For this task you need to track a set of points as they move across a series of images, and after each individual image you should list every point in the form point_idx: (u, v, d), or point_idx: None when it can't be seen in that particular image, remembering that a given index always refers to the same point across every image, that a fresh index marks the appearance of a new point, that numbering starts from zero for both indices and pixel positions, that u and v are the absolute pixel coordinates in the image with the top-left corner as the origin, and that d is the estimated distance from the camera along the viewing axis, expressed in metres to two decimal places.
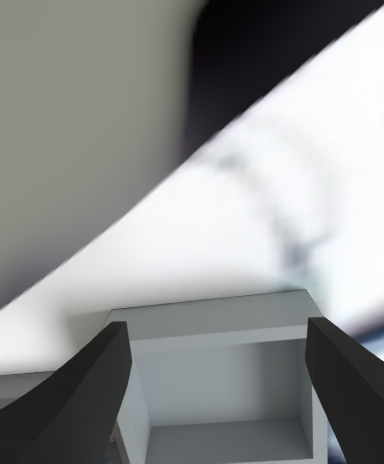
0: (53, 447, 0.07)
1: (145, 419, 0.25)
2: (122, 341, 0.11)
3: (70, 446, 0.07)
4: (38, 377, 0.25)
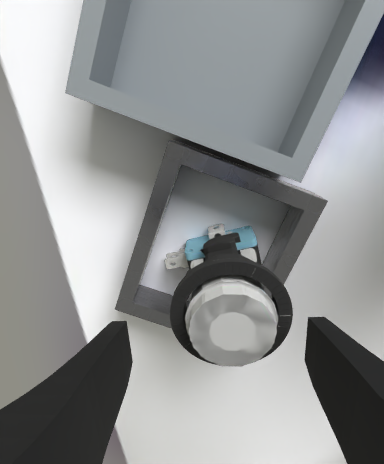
0: (53, 447, 0.07)
1: None
2: (121, 341, 0.11)
3: (70, 446, 0.07)
4: None
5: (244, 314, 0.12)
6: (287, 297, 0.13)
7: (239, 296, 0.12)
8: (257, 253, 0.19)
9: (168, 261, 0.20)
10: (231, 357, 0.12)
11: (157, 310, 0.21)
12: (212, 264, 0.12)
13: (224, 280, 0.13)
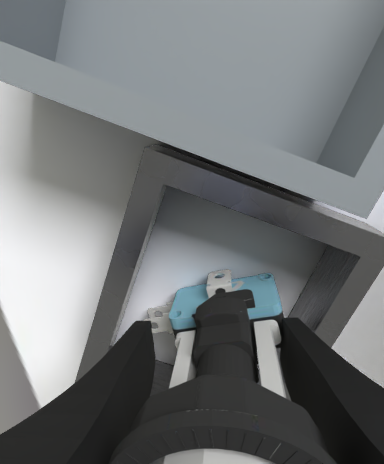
0: (96, 447, 0.06)
1: None
2: (147, 341, 0.11)
3: (109, 446, 0.07)
4: None
5: None
6: None
7: None
8: None
9: None
10: None
11: None
12: (182, 426, 0.06)
13: (210, 454, 0.06)
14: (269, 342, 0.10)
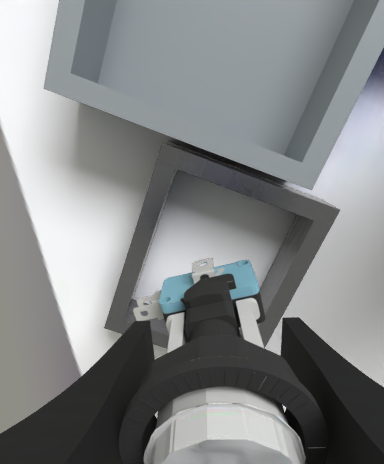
0: (94, 447, 0.06)
1: None
2: (147, 341, 0.11)
3: (107, 446, 0.07)
4: None
5: None
6: (321, 421, 0.07)
7: (238, 441, 0.06)
8: (260, 303, 0.14)
9: (138, 311, 0.15)
10: None
11: (151, 329, 0.19)
12: (189, 370, 0.07)
13: (211, 393, 0.07)
14: (250, 315, 0.12)
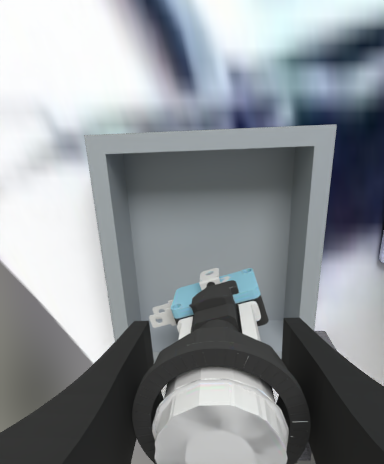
0: (93, 447, 0.06)
1: (259, 327, 0.22)
2: (145, 341, 0.11)
3: (106, 446, 0.07)
4: None
5: (234, 433, 0.08)
6: (300, 396, 0.08)
7: (224, 407, 0.08)
8: (261, 306, 0.15)
9: (153, 318, 0.17)
10: None
11: None
12: (184, 353, 0.08)
13: (205, 373, 0.09)
14: (250, 316, 0.13)
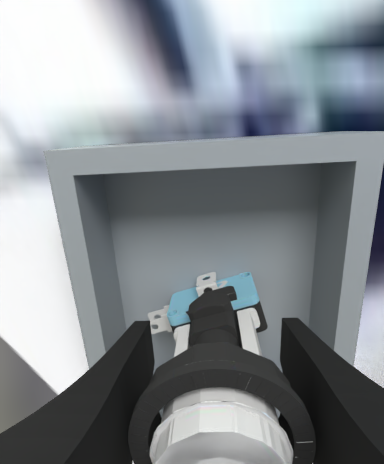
0: (94, 447, 0.06)
1: None
2: (146, 341, 0.11)
3: (107, 446, 0.07)
4: None
5: (237, 460, 0.07)
6: (306, 417, 0.08)
7: (226, 433, 0.07)
8: (260, 312, 0.14)
9: None
10: None
11: None
12: (183, 373, 0.08)
13: (205, 394, 0.08)
14: (249, 324, 0.13)
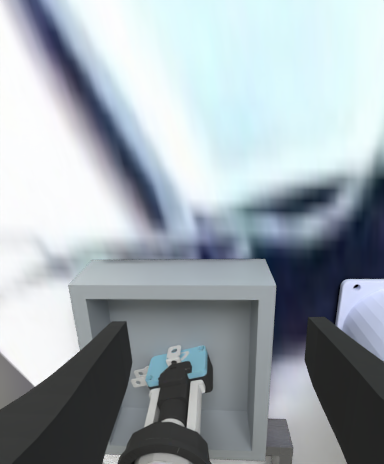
0: (53, 447, 0.07)
1: (225, 419, 0.25)
2: (121, 341, 0.11)
3: (70, 446, 0.07)
4: None
5: None
6: None
7: None
8: (207, 380, 0.22)
9: (134, 381, 0.23)
10: None
11: None
12: (144, 445, 0.15)
13: (156, 454, 0.15)
14: (195, 395, 0.20)
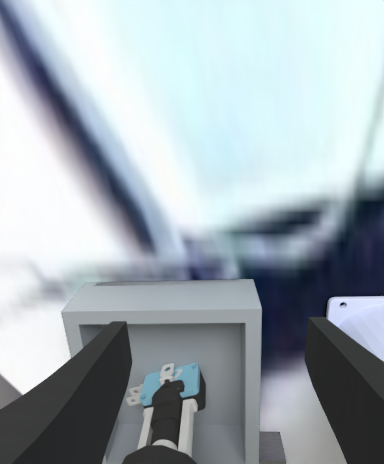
0: (53, 447, 0.07)
1: (219, 434, 0.25)
2: (122, 341, 0.11)
3: (70, 446, 0.07)
4: None
5: None
6: None
7: None
8: (199, 398, 0.22)
9: (129, 399, 0.24)
10: None
11: None
12: None
13: None
14: (187, 414, 0.20)
